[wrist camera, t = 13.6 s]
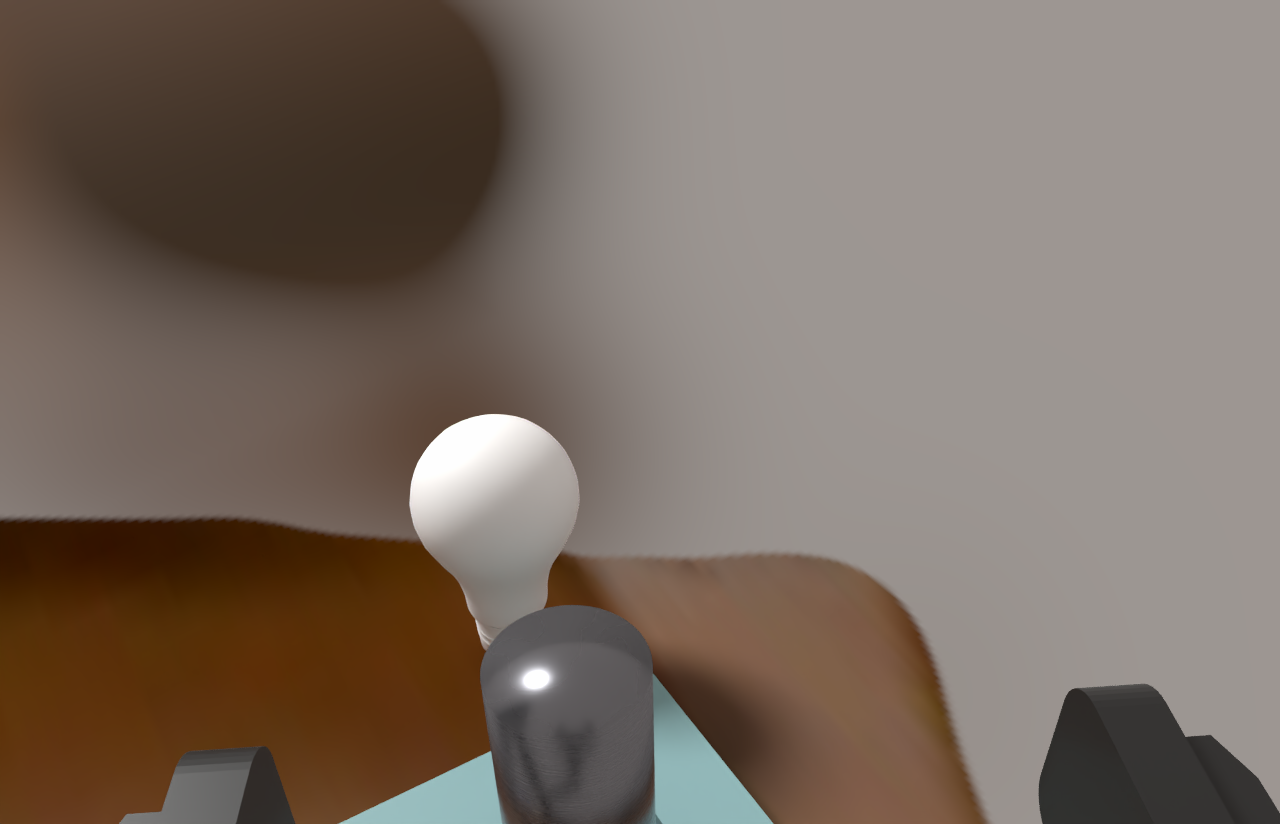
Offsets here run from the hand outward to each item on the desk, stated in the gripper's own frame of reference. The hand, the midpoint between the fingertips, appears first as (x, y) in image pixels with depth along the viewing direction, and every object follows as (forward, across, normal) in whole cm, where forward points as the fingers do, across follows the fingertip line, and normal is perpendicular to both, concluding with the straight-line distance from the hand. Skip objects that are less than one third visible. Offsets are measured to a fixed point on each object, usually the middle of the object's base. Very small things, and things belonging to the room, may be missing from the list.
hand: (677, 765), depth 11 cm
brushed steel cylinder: (+12, -2, -24) cm, 27 cm away
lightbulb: (+24, -4, -25) cm, 35 cm away
